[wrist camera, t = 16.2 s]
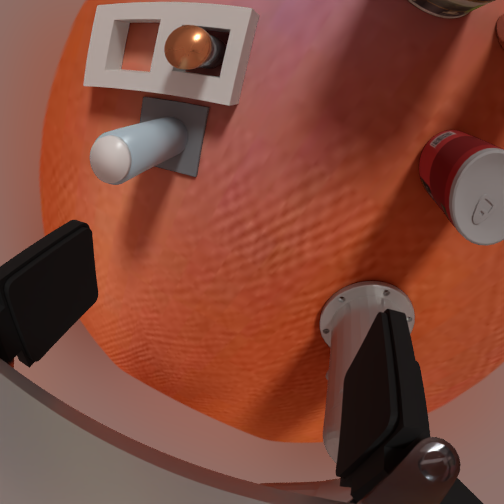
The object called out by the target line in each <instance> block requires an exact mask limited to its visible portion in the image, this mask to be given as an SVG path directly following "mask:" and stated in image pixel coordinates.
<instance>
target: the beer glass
mask: <svg viewBox="0 0 504 504" xmlns="http://www.w3.org/2000/svg"><path fill="white" fill-rule="evenodd" d="M496 32H497V37H498V40H499V42H500V45H501V46H502V48H503V50H504V14H503V15H501V16H500V17H499V19H498V21H497V25H496Z"/></svg>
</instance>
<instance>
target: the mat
mask: <svg viewBox="0 0 504 504" xmlns="http://www.w3.org/2000/svg"><path fill="white" fill-rule="evenodd" d="M208 112H209V107H205V106H200V105H194V104H189V103H183V102H177V101H171V100H165V99H158V98H151V97H143V103H142V110H141V117H140V123H142V122H146V121H151V120H155V119H159V118H164V117H175V118H177V119H179V120H180V121H181V122H182V123H183V124H184V125H185V127H186V129H187V132H188V142H187V145H186V147H185V149H184V150H183V151H182V152H181V153H180V154H178V155H176V156H174V157H172V158H170V159H168V160H166V161H164V162H162V163H160V164H158V165H156V166H155V167H159V168H163V169H167V170H171V171H175V172H179V173H182V174H186V175H190V176H194V177H196V176H197V173H198V167H199V161H200V155H201V149H202V144H203V138H204V133H205V127H206V122H207V117H208Z"/></svg>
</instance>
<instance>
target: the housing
mask: <svg viewBox="0 0 504 504" xmlns="http://www.w3.org/2000/svg"><path fill="white" fill-rule="evenodd" d="M258 19H259V14H258V13H257V12H256V11H255V10H253V9H252V8H246V7H238V6H230V5H219V4H207V3H189V2H137V3H120V4H108V5H98V6H97V10H96V14H95V19H94V23H93V28H92V33H91V39H90V44H89V50H88V56H87V63H86V70H85V77H84V86H94V87H107V88H118V89H128V90H137V91H145V92H153V93H160V94H167V95H174V96H180V97H186V98H192V99H197V100H203V101H208V102H213V103H218V104H223V105H228V106H230V105H236V104H238V103H239V98H240V94H241V89H242V85H243V81H244V76H245V72H246V68H247V64H248V59H249V55H250V51H251V47H252V43H253V39H254V35H255V31H256V27H257V23H258ZM130 23H160V26H159V30H158V35H157V39H156V44H155V49H154V54H153V59H152V65H151V70H150V72H146V71H134V70H121V67H122V61H123V56H124V50H125V45H126V40H127V35H128V30H129V25H130ZM184 25H194V26H198V27H200V28H202V29H204V30H209V31H218V32H226V33H230V34H229V39H228V43H227V47H226V51H225V56H224V60H223V64H222V69H221V73H220V77H217V76H211V75H205V74H199V73H192V72H186V69H178V68H176V67H174V66H172V65H171V64H170V63H169V62H168V61H167V59H166V57H165V52H164V47H165V42H166V40H167V38H168V36H169V35H170V34H171V33H172V32H173V31H174V30H175V29H177V28H179V27H181V26H184Z"/></svg>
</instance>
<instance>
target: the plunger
mask: <svg viewBox="0 0 504 504" xmlns="http://www.w3.org/2000/svg"><path fill="white" fill-rule="evenodd" d="M225 51H226V45H225V43H224V42H223V41H222V40H221V39H219V38H217V37H215V36H212V35H210V34H208V33H207V32H206V31H205V30H204V29H202V28H200V27H198V26H194V25H184V26H181V27H179V28H177V29H175V30H174V31H173V32H172V33H171V34H170V35H169V36H168V38H167V40H166V42H165V47H164V52H165V57H166V59H167V61H168V62H169V63H170V64H171V65H172V66H174V67H176V68H178V69H187V70H189V69H195V68H197V67H198V68H208V69H211V68H215V67H217V66H219V65H220V64H221V63H223V60H224V56H225Z"/></svg>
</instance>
